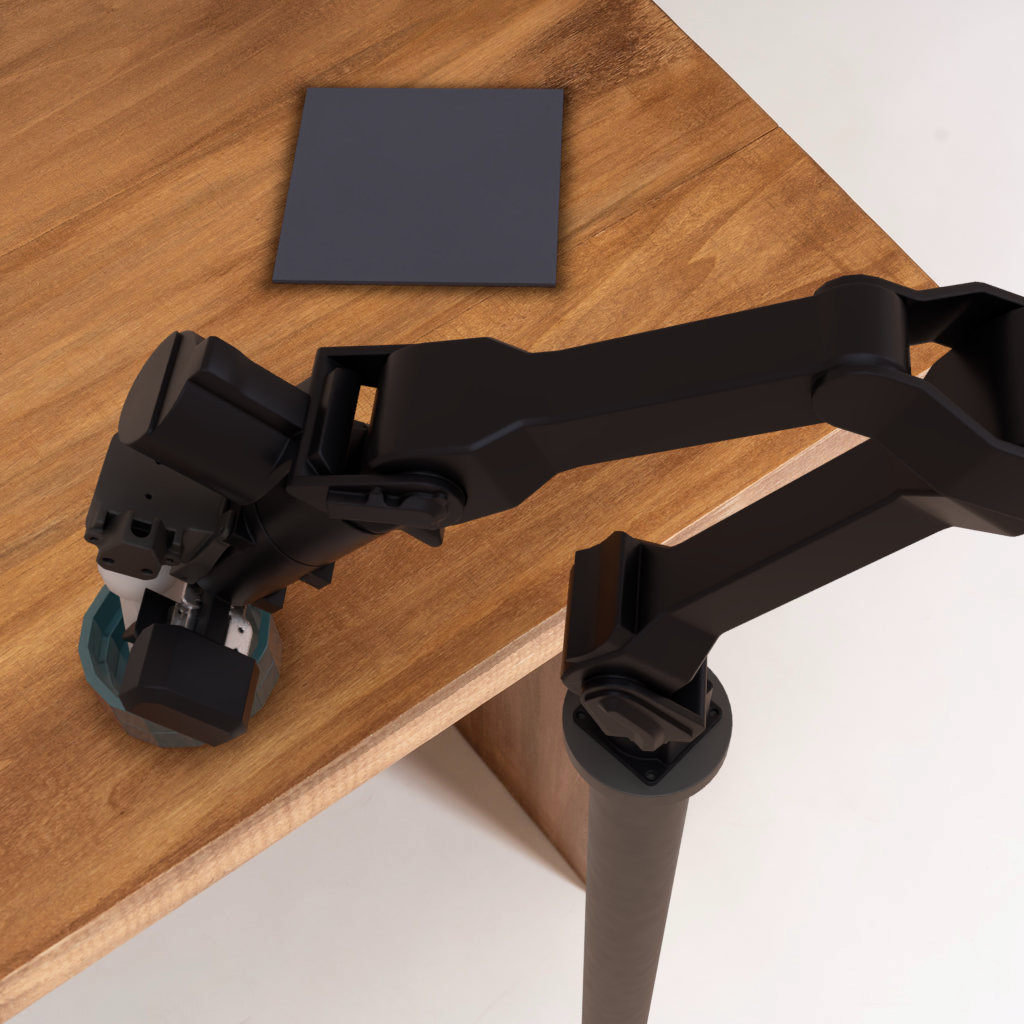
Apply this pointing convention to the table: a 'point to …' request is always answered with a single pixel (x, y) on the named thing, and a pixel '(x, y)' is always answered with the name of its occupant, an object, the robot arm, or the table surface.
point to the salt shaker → (140, 590)
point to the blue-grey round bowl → (110, 655)
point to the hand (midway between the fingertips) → (139, 606)
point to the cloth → (424, 188)
